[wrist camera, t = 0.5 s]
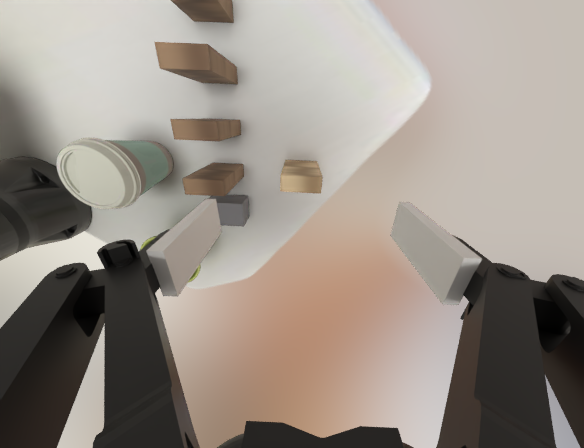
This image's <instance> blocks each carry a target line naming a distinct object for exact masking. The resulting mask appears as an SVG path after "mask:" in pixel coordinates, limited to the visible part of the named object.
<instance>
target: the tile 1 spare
mask: <svg viewBox="0 0 584 448" xmlns="http://www.w3.org/2000/svg"><path fill="white" fill-rule="evenodd" d="M322 178H323V177H322V174H321V172H320V169H319V166H318V163H317V161H300V160H286V161H285V164H284V167H283V170H282V173H281V179H280V191H282V192H302V193H321V187H322Z"/></svg>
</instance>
